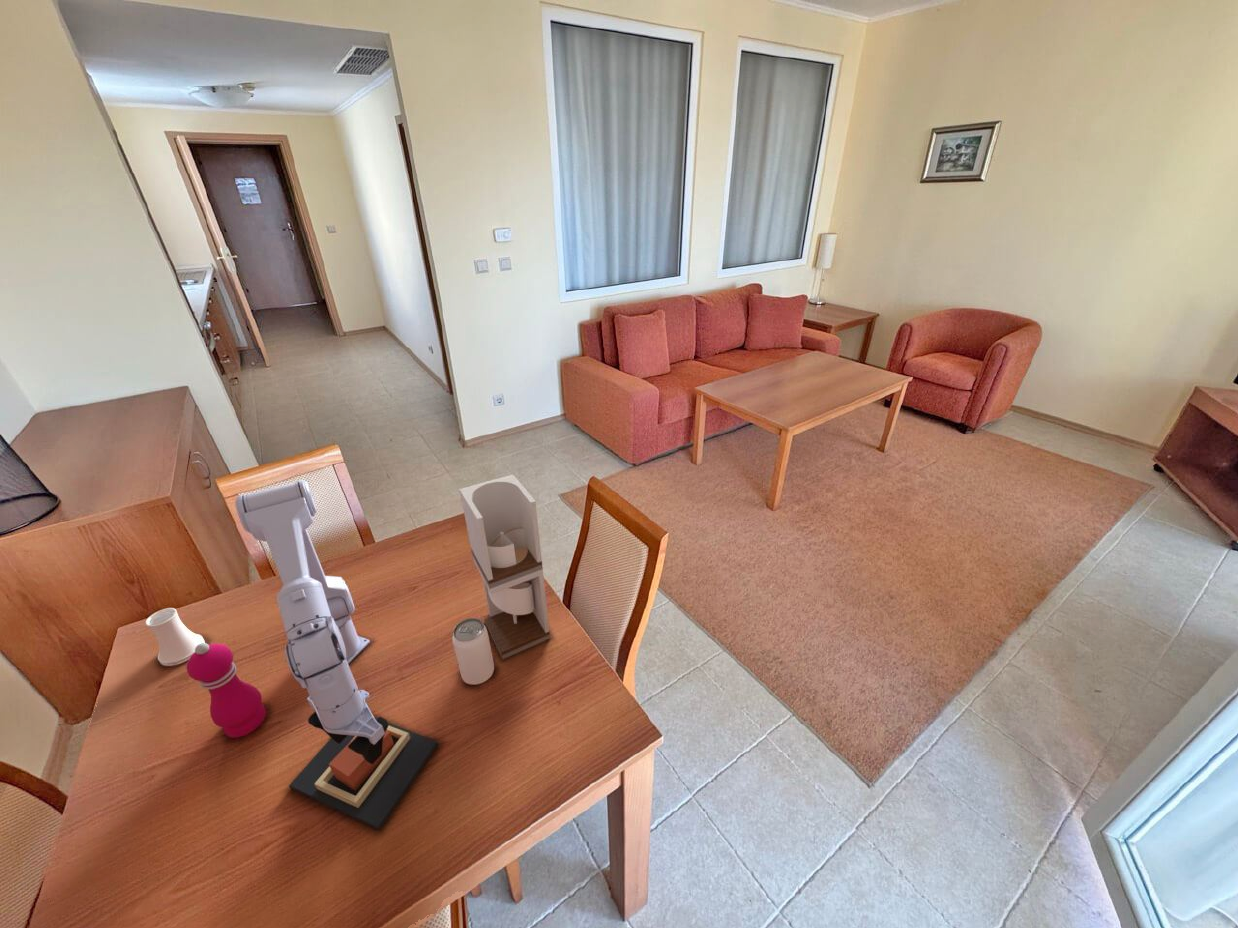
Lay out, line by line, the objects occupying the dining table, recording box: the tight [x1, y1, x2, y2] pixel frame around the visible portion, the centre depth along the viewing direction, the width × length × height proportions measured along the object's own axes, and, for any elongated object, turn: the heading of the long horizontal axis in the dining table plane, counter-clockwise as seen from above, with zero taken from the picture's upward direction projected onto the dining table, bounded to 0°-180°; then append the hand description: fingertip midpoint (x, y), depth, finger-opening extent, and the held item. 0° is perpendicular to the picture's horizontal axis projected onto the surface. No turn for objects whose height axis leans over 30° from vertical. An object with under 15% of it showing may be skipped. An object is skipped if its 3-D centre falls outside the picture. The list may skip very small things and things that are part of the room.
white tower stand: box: [459, 474, 551, 660], centre depth 100 cm, size 11×11×35 cm
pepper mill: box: [186, 642, 267, 739], centre depth 85 cm, size 7×7×20 cm
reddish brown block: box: [329, 731, 395, 791], centre depth 81 cm, size 5×8×4 cm, turn 154°
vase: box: [145, 607, 206, 667], centre depth 102 cm, size 8×8×10 cm
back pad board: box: [288, 716, 439, 831], centre depth 82 cm, size 18×14×2 cm
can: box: [452, 617, 495, 686], centre depth 96 cm, size 6×6×12 cm
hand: (359, 747), depth 80 cm, fingers open, 7 cm apart
